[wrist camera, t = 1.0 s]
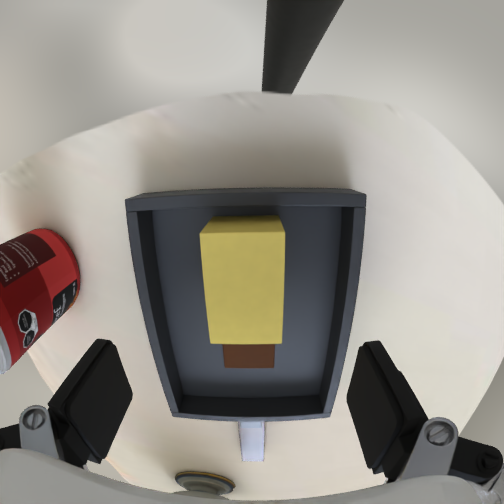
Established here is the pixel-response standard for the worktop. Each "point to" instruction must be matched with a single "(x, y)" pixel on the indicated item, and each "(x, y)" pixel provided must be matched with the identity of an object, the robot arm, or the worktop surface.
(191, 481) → the apothecary jar
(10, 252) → the canned food
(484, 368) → the worktop surface
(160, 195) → the pan
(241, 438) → the pan handle
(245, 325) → the sponge
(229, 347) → the plate
